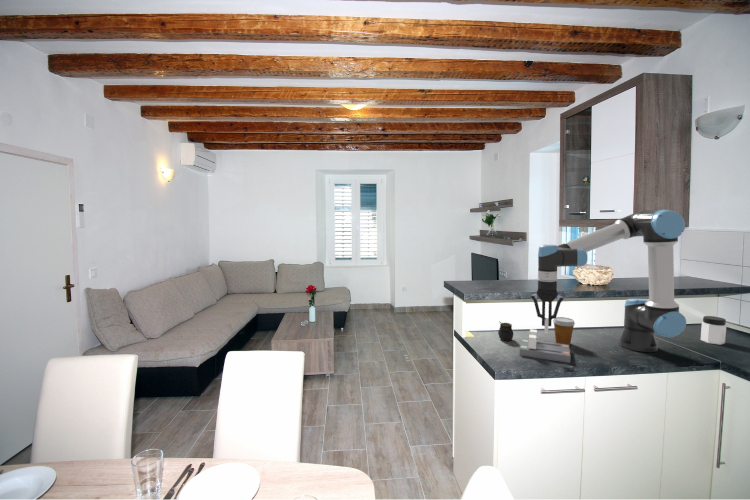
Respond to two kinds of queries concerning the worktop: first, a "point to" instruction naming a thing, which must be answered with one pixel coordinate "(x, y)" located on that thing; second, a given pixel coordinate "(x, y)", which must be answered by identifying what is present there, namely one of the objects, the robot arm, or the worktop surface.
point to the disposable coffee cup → (563, 330)
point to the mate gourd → (505, 331)
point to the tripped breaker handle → (532, 342)
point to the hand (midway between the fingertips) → (546, 333)
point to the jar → (713, 330)
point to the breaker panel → (546, 351)
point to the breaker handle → (533, 333)
